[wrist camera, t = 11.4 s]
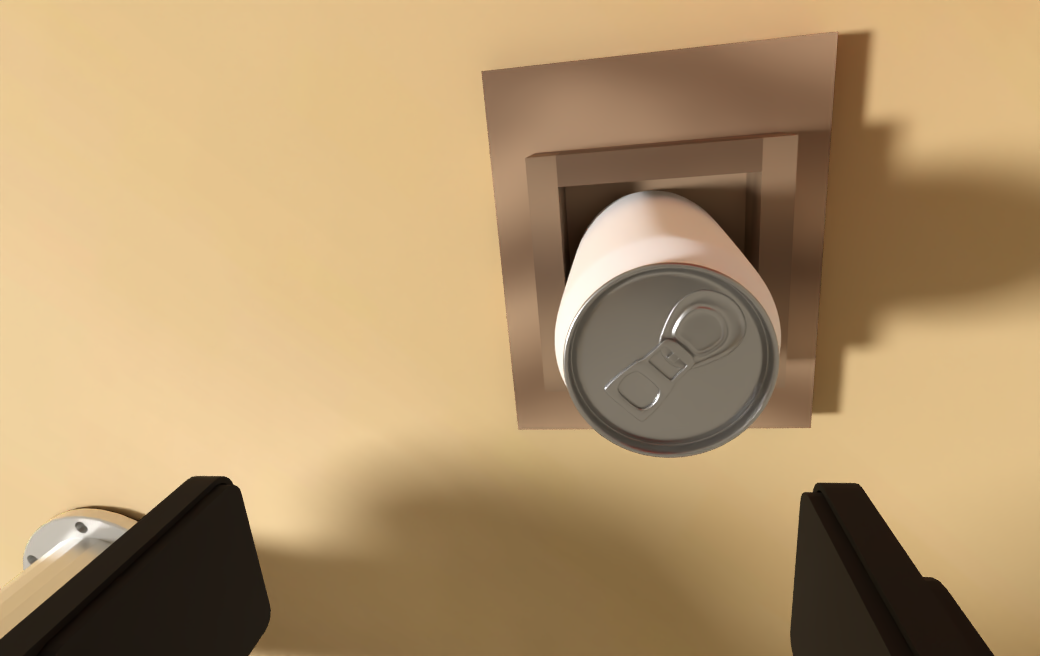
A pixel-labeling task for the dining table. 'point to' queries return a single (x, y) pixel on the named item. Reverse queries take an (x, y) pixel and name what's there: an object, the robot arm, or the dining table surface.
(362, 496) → the dining table surface
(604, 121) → the caddy
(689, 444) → the can
